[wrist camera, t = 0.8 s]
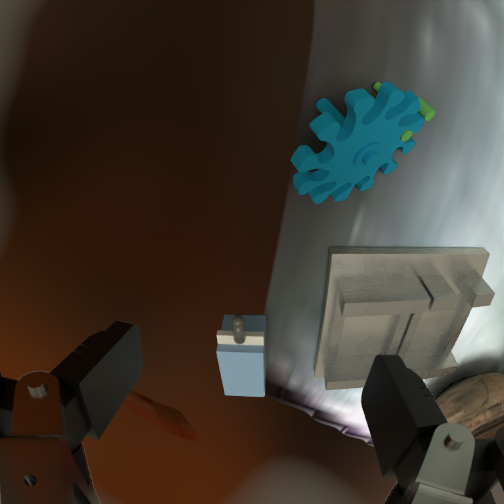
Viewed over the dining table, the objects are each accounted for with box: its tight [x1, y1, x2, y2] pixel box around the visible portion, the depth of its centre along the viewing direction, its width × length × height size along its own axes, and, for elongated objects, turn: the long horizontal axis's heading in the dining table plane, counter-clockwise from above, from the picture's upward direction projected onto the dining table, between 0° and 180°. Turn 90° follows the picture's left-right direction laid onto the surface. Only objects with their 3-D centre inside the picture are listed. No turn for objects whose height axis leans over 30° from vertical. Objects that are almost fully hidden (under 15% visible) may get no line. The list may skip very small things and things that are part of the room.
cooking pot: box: [435, 373, 504, 439], centre depth 29 cm, size 25×19×12 cm
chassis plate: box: [314, 247, 495, 390], centre depth 25 cm, size 16×17×5 cm
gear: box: [291, 81, 435, 204], centre depth 17 cm, size 11×6×10 cm
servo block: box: [216, 314, 266, 397], centre depth 27 cm, size 12×4×5 cm, turn 2°
